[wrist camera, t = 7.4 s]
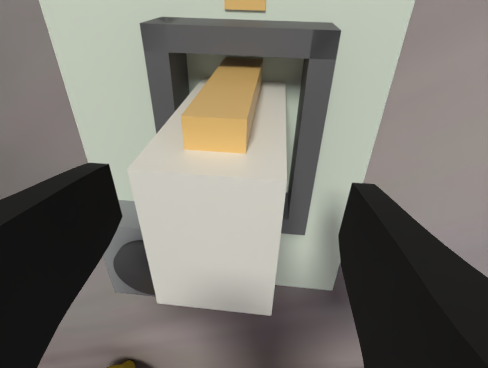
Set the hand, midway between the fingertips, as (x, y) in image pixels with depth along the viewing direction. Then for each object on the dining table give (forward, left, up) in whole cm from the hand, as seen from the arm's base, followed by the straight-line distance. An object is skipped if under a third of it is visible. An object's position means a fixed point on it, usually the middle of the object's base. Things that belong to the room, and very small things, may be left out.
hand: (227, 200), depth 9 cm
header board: (-2, +1, -6) cm, 6 cm away
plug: (0, 0, -5) cm, 5 cm away
